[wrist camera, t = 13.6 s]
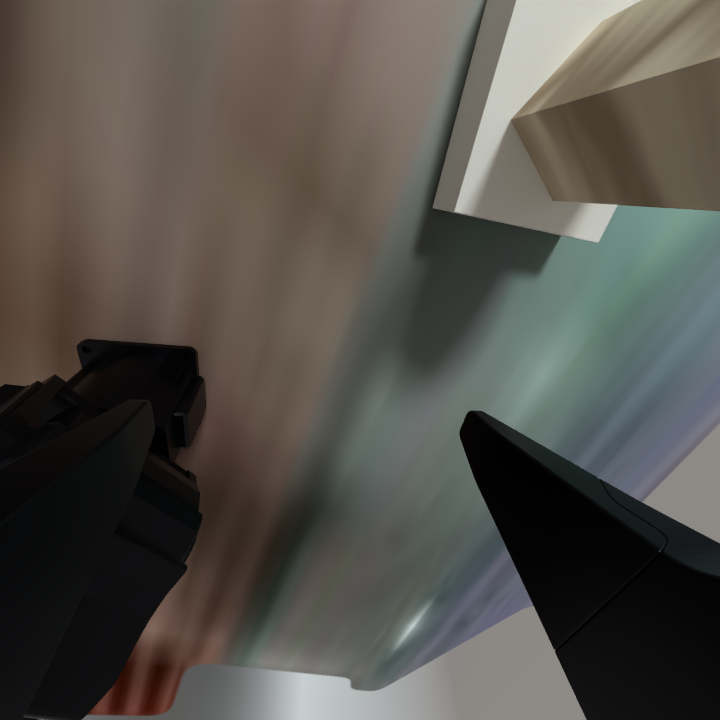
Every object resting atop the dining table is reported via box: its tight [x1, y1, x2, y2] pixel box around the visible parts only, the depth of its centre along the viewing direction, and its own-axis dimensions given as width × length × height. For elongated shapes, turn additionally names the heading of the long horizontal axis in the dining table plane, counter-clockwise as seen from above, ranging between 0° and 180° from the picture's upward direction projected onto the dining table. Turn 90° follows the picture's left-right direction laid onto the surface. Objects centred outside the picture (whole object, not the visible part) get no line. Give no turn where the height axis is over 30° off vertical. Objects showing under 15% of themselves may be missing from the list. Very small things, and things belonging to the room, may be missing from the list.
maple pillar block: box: [511, 0, 720, 211], centre depth 10 cm, size 5×5×12 cm
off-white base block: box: [432, 0, 641, 242], centre depth 17 cm, size 10×10×3 cm
